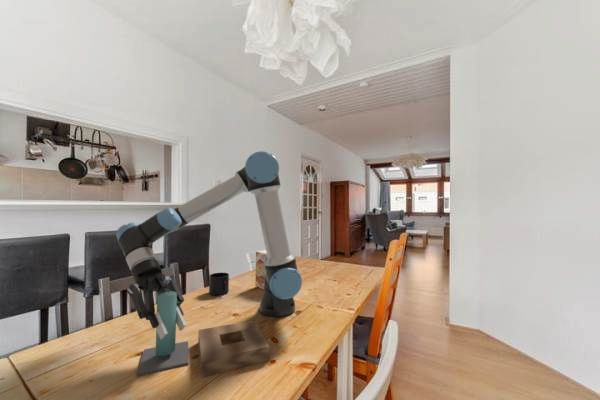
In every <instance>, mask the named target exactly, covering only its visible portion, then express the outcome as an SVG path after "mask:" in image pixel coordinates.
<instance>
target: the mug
mask: <svg viewBox="0 0 600 400" xmlns="http://www.w3.org/2000/svg"><path fill="white" fill-rule="evenodd" d="M208 278H209V279H208V282H209V283H208V284H209V285H208V287H209V289H208V295H210V296H213V297H216V296H217V297H220V295H221V296H225V295H226V294H227V295H228V293H229V288H230V287H229V284H230V275H229V273H228V272H214V273H211V274H209V277H208ZM224 294H225V295H224Z"/></svg>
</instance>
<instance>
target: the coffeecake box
mask: <svg viewBox="0 0 600 400" xmlns="http://www.w3.org/2000/svg"><path fill="white" fill-rule="evenodd" d="M266 256H267V252H266V249H263V250H257V251H255V286H256V287H255V288H257V287H259V288H258V289H260V288H262V289H261V290H263V289H264V272H265V264H264V262H265V257H266Z"/></svg>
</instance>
